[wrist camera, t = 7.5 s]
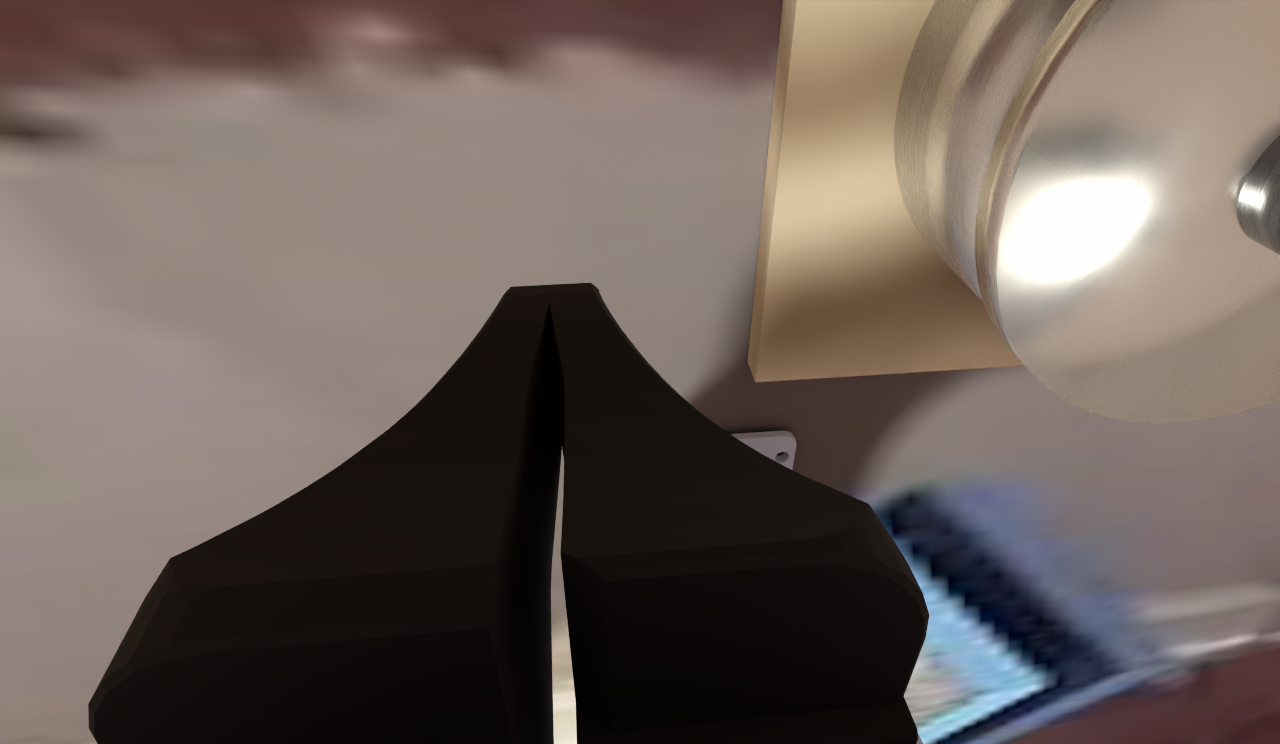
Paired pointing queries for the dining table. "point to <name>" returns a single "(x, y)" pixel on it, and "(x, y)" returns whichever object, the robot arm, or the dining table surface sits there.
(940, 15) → the pot
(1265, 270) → the lid with handle
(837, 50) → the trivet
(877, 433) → the dining table surface
